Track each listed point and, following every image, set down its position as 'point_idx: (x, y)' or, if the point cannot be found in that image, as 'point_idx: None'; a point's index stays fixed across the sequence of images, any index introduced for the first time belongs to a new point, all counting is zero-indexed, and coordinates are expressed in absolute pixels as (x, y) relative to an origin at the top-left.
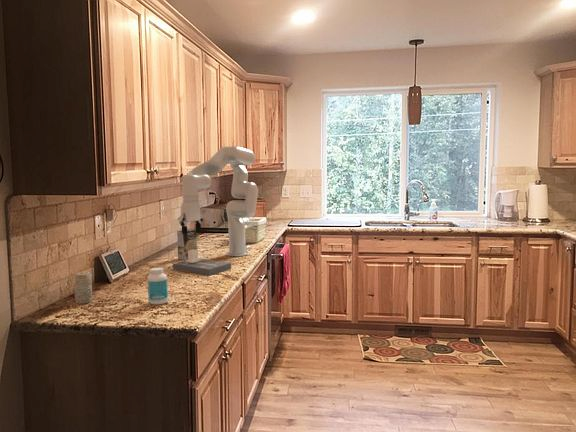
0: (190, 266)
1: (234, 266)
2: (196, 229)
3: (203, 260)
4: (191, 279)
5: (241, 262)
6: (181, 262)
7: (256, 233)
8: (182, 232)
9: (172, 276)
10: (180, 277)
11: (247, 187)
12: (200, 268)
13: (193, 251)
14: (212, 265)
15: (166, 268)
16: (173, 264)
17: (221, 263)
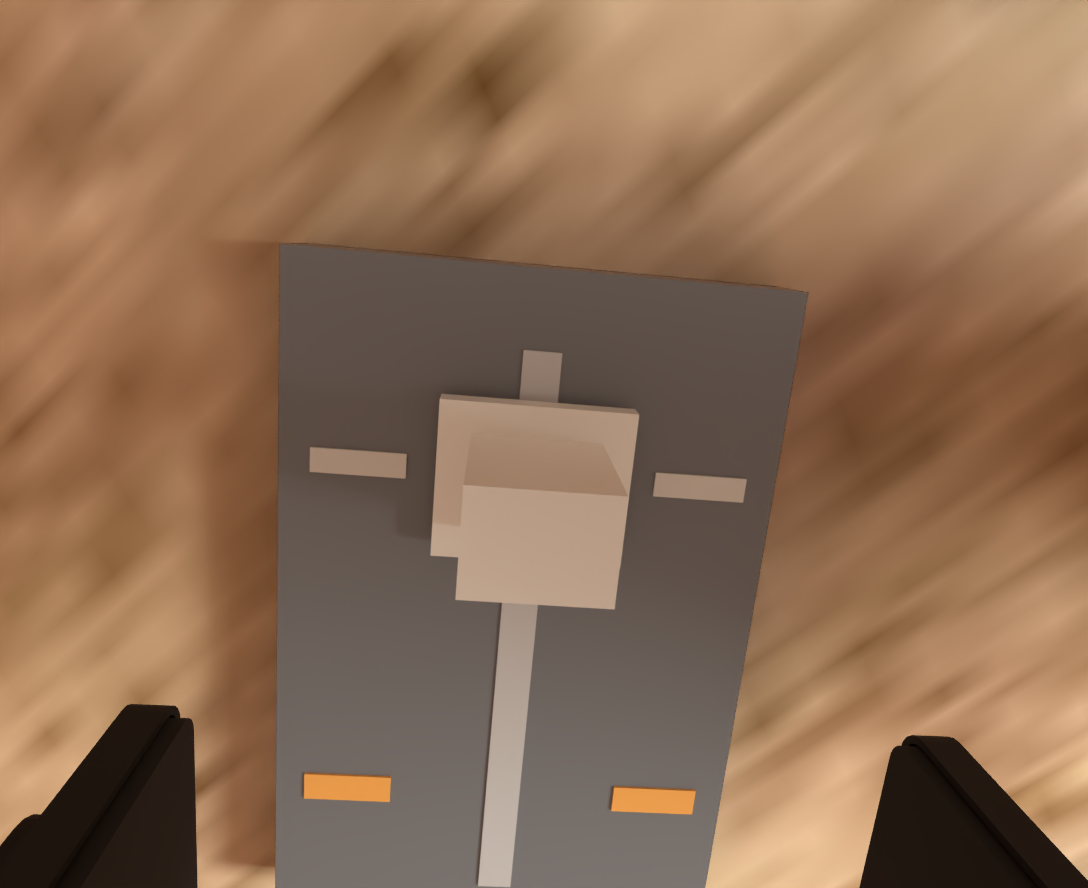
0: (278, 627)
1: (807, 843)
2: (926, 830)
3: (698, 537)
4: (41, 811)
5: (1034, 793)
6: (430, 312)
7: None
8: (113, 754)
9: (5, 521)
10: (31, 644)
11: None
12: (277, 794)
13: (493, 597)
14: (476, 837)
15: (312, 82)
16: (281, 262)
17: (627, 864)
